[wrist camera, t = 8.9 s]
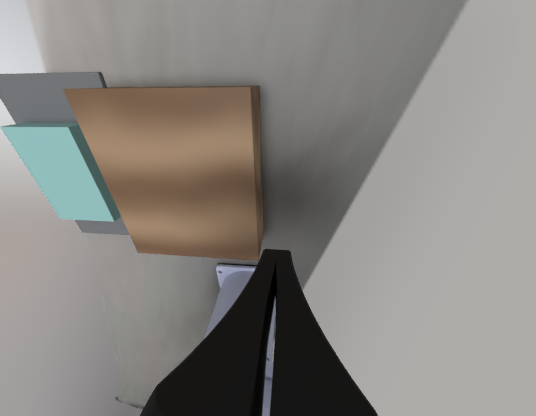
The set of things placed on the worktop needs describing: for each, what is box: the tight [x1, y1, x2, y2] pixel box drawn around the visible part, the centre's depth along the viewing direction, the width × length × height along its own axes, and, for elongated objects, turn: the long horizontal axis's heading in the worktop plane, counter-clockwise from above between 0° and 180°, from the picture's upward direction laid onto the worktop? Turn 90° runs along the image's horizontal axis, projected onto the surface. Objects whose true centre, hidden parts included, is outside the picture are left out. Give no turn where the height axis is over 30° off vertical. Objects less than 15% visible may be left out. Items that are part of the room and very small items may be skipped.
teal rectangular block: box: [1, 123, 121, 222], centre depth 19 cm, size 9×6×2 cm, turn 1°
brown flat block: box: [63, 86, 263, 260], centre depth 18 cm, size 14×12×4 cm
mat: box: [0, 72, 130, 235], centre depth 20 cm, size 16×10×1 cm, turn 1°
